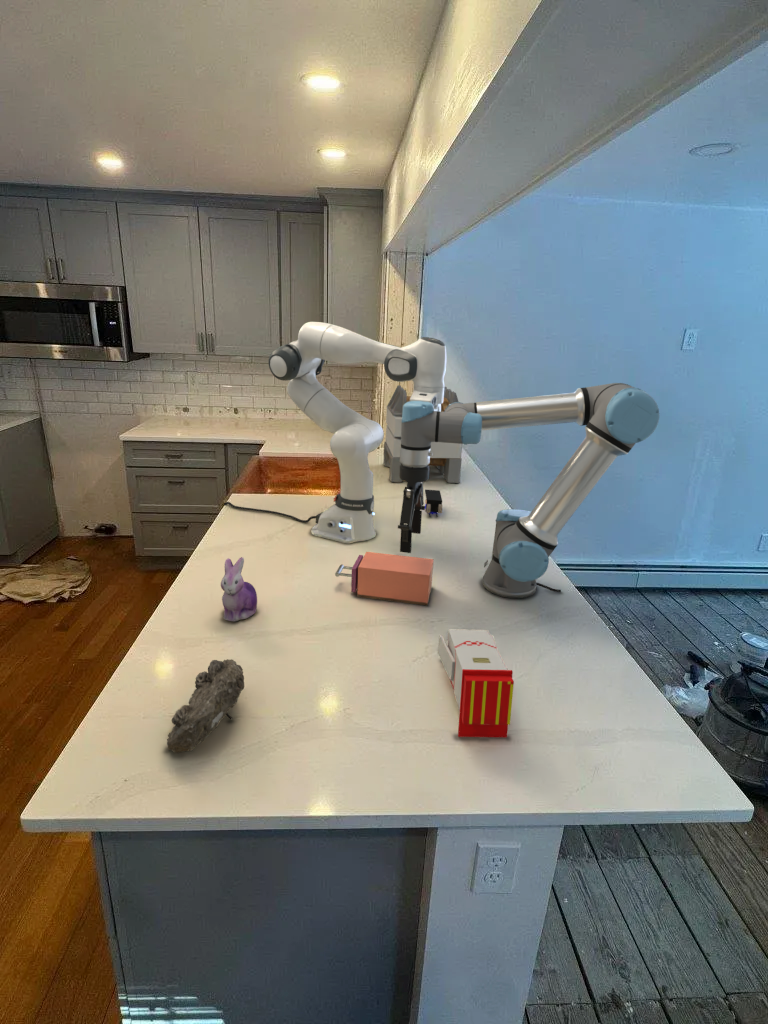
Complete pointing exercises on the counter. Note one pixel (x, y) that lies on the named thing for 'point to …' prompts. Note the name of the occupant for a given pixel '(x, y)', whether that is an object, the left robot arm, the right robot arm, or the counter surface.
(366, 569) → the cabinet
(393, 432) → the transformer
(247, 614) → the figurine
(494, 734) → the toy
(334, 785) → the counter surface
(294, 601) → the counter surface
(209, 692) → the fossil
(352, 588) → the drawer
